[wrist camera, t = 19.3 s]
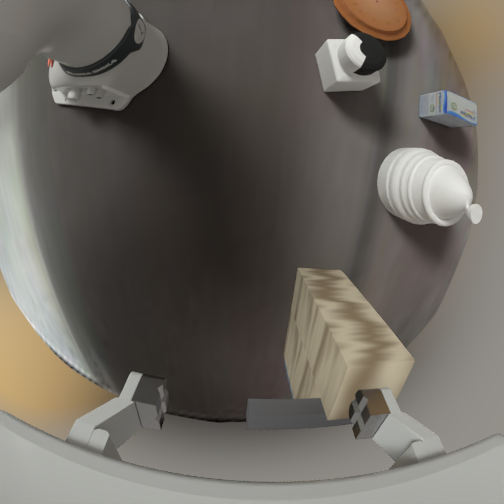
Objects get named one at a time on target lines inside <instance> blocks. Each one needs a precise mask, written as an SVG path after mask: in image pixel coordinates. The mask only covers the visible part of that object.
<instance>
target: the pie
mask: <svg viewBox="0 0 504 504" xmlns="http://www.w3.org/2000/svg"><path fill="white" fill-rule="evenodd" d="M333 2H334V5H335V7H336V8H337V10H338V11H339V13H340V14H341V15H342V17H343V18H344V20H345V21H346V22H347V23H349V24H350V25H351V26H352V27H353V28H355V29H356V30H358V31H360V32H363V33H367V34H369V35H371V36H373V37H375V38H378V39H381V40H385V41H393V40H398V39H401V38H403V37H405V36H406V35H407V34H408V33H409V31H410V27H411V16H410V12H409V10H408V7H407V5H406V3H405V2H404V0H333Z"/></svg>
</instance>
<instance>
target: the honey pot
mask: <svg viewBox="0 0 504 504" xmlns="http://www.w3.org/2000/svg"><path fill="white" fill-rule="evenodd" d="M377 185H378V193H379V196H380V199H381V201H382V203H383V205H384V206H385V208H386V209H387V210H388V211H389V212H390V213H391V214H393V215H394V216H397V217H399V218H401V219H404V220H406V221H408V222H410V223H413V224H420V225H424V224H429V223H435V224H437V225H439V226H446V227H447V226H450V225H453V224H455V223H456V222H458V221H459V220H460V218H461V217H462V216H463V215H464V213H465V211H466V216H467V218H468V219H469V220H470V221H471V222H472V223H474V224H477V223H479V221H480V220H481V218H482V208H481V206H480V205H477V204H472V205H471V203H472V198H473V195H472V190H471V187H470V185H469V183H468V179H467V176H466V174H465V172H464V170H463V169H462V168H461V166H460V165H459V164H457V163H456V162H454V161H452V160H448V159H444V158H442V157H440V156H438V155H437V154H435V153H434V152H432V151H430V150H427V149H423V148H401V149H397V150H395V151H393V152H391V153H390V154H389V155H388V156H387V157H386V158H385V160H384V161H383V163H382V165H381V167H380V170H379V173H378V182H377Z"/></svg>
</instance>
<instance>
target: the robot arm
mask: <svg viewBox="0 0 504 504" xmlns="http://www.w3.org/2000/svg"><path fill="white" fill-rule="evenodd" d="M167 55H168V45H167V41H166V38H165V37H164V35H163V34H162V32H161V31H160V30H158V29H157V28H155V27H153V26H152V25H150V24H149V23H148V22H146V20H145V19H144V17H143V16H142V15H141V14H140V13H138V11H137V10H136V9H135V7H134V6H133V5H132V4H131V3H130V1H128V0H0V92H2V91H3V90H4V89H6V88H7V87H8V86H9V85H11V84H12V83H13V82H14V81H15V80H16V79H17V78H18V77H19V76H20V75H21V74H22V73H23V72H24V71H25V70H26V69H27V68H28V67H29V65H30V64H31V62H32V61H33V59H34V57H35V56H42V57H46V58H49V60H48V66H49V65H50V68H49V82H50V85H51V87H52V94H53V98H54V101H55V103H57V104H61V105H73V106H83V107H93V108H101V109H109V110H116V111H121V110H123V109H124V108H125V107H126V106H127V105H128V104H129V103H130V101H131V100H132V98H133V97H134V96H135V95H136V94H138V93H139V92H141V91H142V90H144V89H145V88H146V87H148V86H149V85H150V84H151V83H152V82H153V81H154V80H155V79H156V78H157V77H158V75H159V74H160V73H161V71H162V69H163V67H164V65H165V63H166V60H167ZM56 90H57V91H56ZM114 100H115V103H114V104H112V102H113V101H114ZM166 388H167V379H166V378H161V377H156V376H151V375H147V374H142V373H137V372H133V371H132V372H131V373H130V375H129V377H128V379H127V381H126V383H125V386H124V388H123V390H122V392H121V394H120V397H119V398H117V397H115V398H114V399H112V400H110V401H108V402H107V403H105V404H103V405H102V406H100V407H98V408H96V409H95V410H93V411H91V412H89V413H88V414H86V415H84V416H82V417H81V418H79V419H77V420H76V421H75V423H74V425H73V427H72V429H71V431H70V433H69V435H68V437H67V439H66V441H64V440H62V439H59V438H57V437H55V436H53V435H50V434H48V433H46V432H44V431H42V430H40V429H38V428H36V427H34V426H32V425H30V424H28V423H26V422H24V421H22V420H20V419H18V418H16V417H15V416H13V415H11V414H9V413H8V412H5V411H2V410H0V504H504V435H502V434H494V435H492V436H490V437H488V438H485V439H483V440H481V441H479V442H476V443H474V444H471V445H469V446H466V447H464V448H462V449H459V450H456V451H453V452H450V453H448V454H446V452H445V450H444V448H443V446H442V443H441V441H440V439H439V437H438V436H437V435H436V434H435V433H433V432H432V431H430V430H429V429H427V428H426V427H425V426H423V425H422V424H420V423H419V422H417V421H416V420H415V419H413V418H412V417H410V416H409V415H407V414H406V413H405V412H401V411H400V409H399V407H398V404H397V402H396V400H395V398H394V396H393V393H392V391H391V389H390V388H389V387H387V388H374V389H361V390H358V391H357V392H356V394H355V397H356V399H355V400H353V401H352V402H351V404H350V406H349V419H350V421H351V422H352V423H353V424H354V426H353V428H352V429H353V432H354V436H355V439H366V438H372V439H373V440H374V441H375V442H376V443H377V444H378V445H379V446H380V447H381V448H382V449H383V450H384V451H385V452H386V453H387V454H388V455H389V456H390V457H391V458H392V459H393V460H394V461H395V463H394V464H393V465H392V467H390V469H389V470H386V471H381V472H376V473H371V474H365V475H359V476H353V477H345V478H337V479H328V480H316V481H298V482H251V481H234V480H222V479H212V478H203V477H196V476H189V475H183V474H177V473H171V472H167V471H162V470H156V469H152V468H148V467H144V466H140V465H136V464H132V463H128V462H124V461H122V459H121V457H120V455H119V453H118V451H117V448H119V447H120V446H121V445H122V444H124V443H125V442H126V441H127V440H128V439H130V438H131V437H132V436H133V435H134V434H136V433H137V432H138V431H139V430H140V429H141V428H142V427H144V428H149V429H154V430H159V431H161V429H162V425H163V422H164V414H163V413H165V412H166V411H167V407H168V402H169V393H168V390H167V389H166Z"/></svg>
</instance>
